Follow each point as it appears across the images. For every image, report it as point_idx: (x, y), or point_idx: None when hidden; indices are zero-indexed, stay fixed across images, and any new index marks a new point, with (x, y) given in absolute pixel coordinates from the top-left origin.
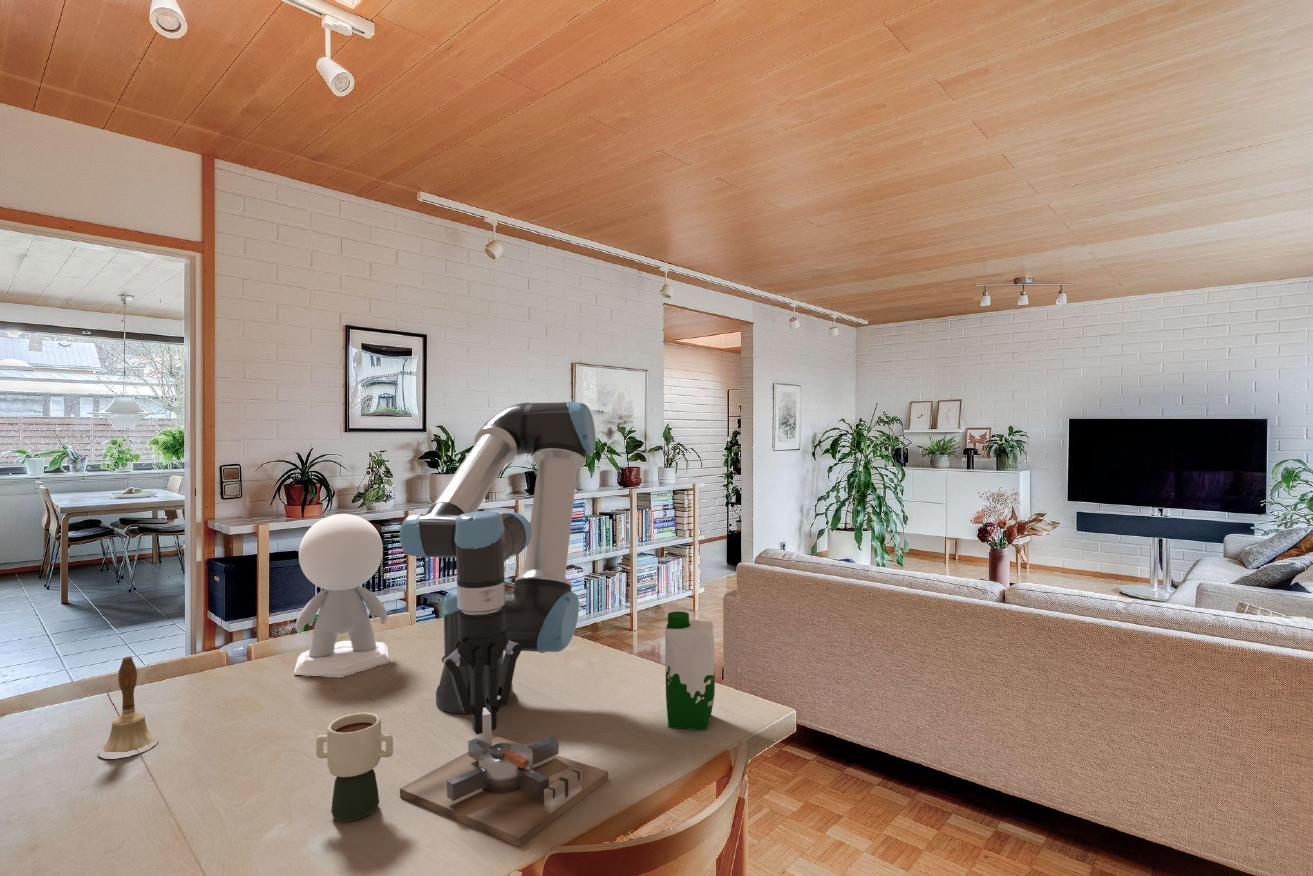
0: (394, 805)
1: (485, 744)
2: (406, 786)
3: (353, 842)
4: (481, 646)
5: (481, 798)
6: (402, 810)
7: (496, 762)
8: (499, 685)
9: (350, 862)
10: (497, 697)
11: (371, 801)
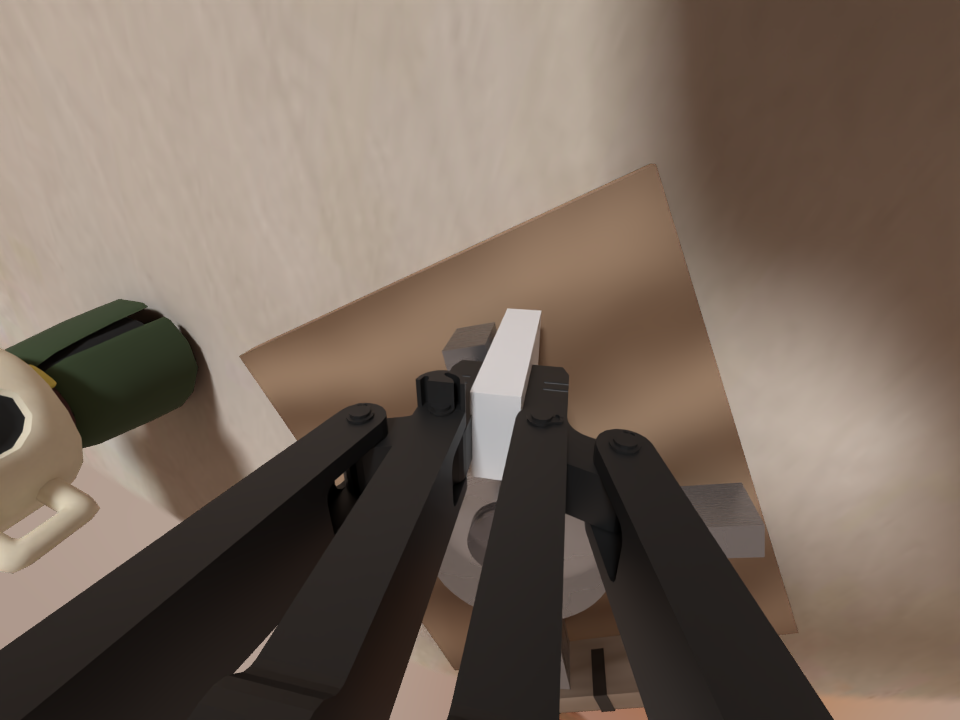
0: (242, 378)
1: None
2: (256, 357)
3: (171, 460)
4: None
5: None
6: (262, 412)
7: (470, 570)
8: (624, 543)
9: (176, 511)
10: (585, 495)
11: (161, 415)
